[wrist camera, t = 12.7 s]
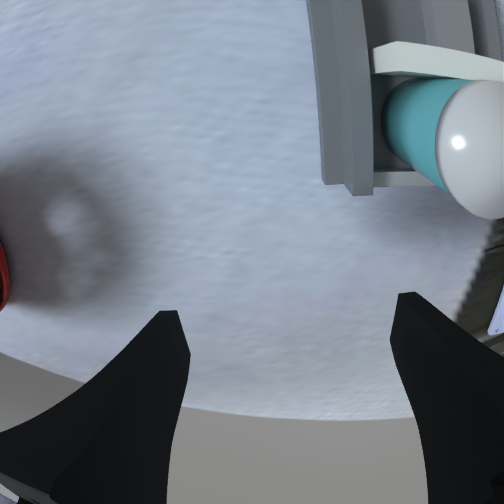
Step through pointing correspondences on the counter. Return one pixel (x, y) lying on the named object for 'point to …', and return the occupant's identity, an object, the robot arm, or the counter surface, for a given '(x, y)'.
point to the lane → (370, 84)
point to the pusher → (438, 48)
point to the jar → (451, 137)
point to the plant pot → (4, 279)
